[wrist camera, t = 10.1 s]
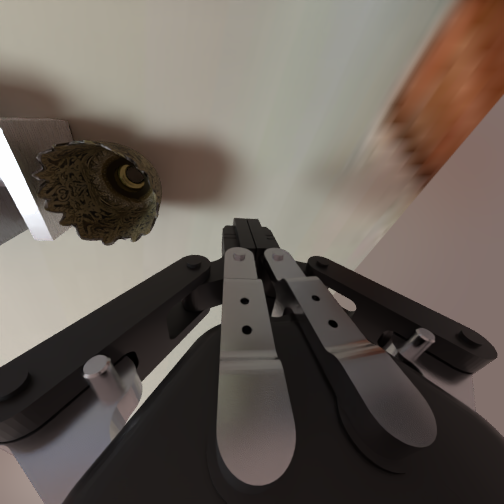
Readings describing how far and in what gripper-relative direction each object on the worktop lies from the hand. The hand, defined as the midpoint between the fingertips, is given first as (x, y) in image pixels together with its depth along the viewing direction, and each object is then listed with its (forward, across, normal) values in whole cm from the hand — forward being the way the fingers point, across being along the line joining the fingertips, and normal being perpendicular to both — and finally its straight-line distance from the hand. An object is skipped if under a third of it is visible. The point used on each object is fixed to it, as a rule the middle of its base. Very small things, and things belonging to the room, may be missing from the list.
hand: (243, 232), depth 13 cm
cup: (+12, +10, 0) cm, 16 cm away
